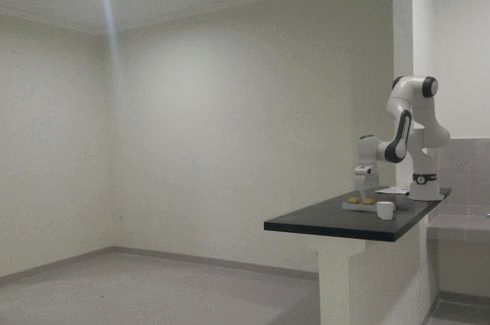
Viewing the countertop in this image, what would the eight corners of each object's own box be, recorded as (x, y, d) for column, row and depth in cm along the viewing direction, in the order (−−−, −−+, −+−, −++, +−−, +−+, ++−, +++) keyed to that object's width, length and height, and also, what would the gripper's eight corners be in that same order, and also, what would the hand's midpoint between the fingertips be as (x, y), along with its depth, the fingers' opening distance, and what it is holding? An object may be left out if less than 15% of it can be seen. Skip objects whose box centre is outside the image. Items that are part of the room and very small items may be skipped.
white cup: (393, 220, 169) (393, 203, 169) (376, 219, 171) (376, 203, 171) (393, 217, 175) (393, 201, 175) (377, 216, 178) (376, 201, 177)
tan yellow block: (366, 208, 195) (365, 198, 195) (374, 209, 193) (373, 198, 193) (362, 209, 192) (362, 199, 192) (370, 210, 190) (370, 199, 190)
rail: (349, 207, 203) (349, 200, 203) (395, 211, 189) (395, 203, 188) (341, 210, 197) (341, 202, 197) (388, 214, 182) (388, 206, 182)
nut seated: (351, 207, 200) (351, 197, 200) (359, 207, 198) (359, 197, 197) (348, 208, 197) (348, 198, 197) (356, 209, 194) (355, 198, 194)
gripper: (369, 167, 202) (370, 195, 202) (352, 170, 186) (352, 200, 187) (382, 167, 198) (382, 195, 198) (365, 171, 182) (365, 201, 183)
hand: (368, 198), depth 192 cm, fingers open, 8 cm apart
